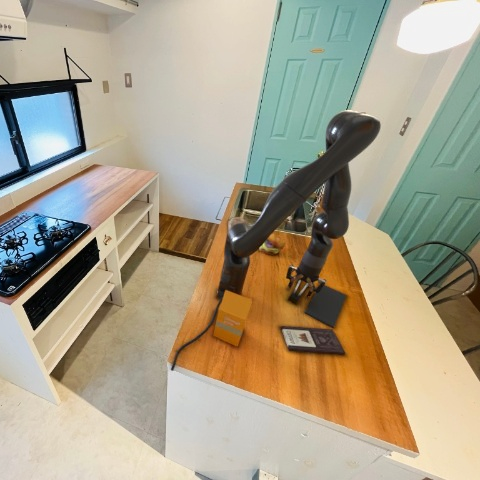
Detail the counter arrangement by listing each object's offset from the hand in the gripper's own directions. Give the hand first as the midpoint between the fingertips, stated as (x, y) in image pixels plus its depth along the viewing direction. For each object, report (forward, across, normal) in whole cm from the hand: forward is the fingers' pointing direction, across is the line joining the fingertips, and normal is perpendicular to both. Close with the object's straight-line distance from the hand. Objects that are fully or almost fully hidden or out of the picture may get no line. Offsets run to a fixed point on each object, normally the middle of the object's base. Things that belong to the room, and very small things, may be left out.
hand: (298, 291), depth 106 cm
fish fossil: (+1, -43, +27) cm, 51 cm away
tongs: (+1, 0, +1) cm, 1 cm away
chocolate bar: (+1, +11, -20) cm, 23 cm away
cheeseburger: (+1, -21, +21) cm, 30 cm away
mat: (+1, +10, +2) cm, 11 cm away
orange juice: (+1, -12, -37) cm, 39 cm away
